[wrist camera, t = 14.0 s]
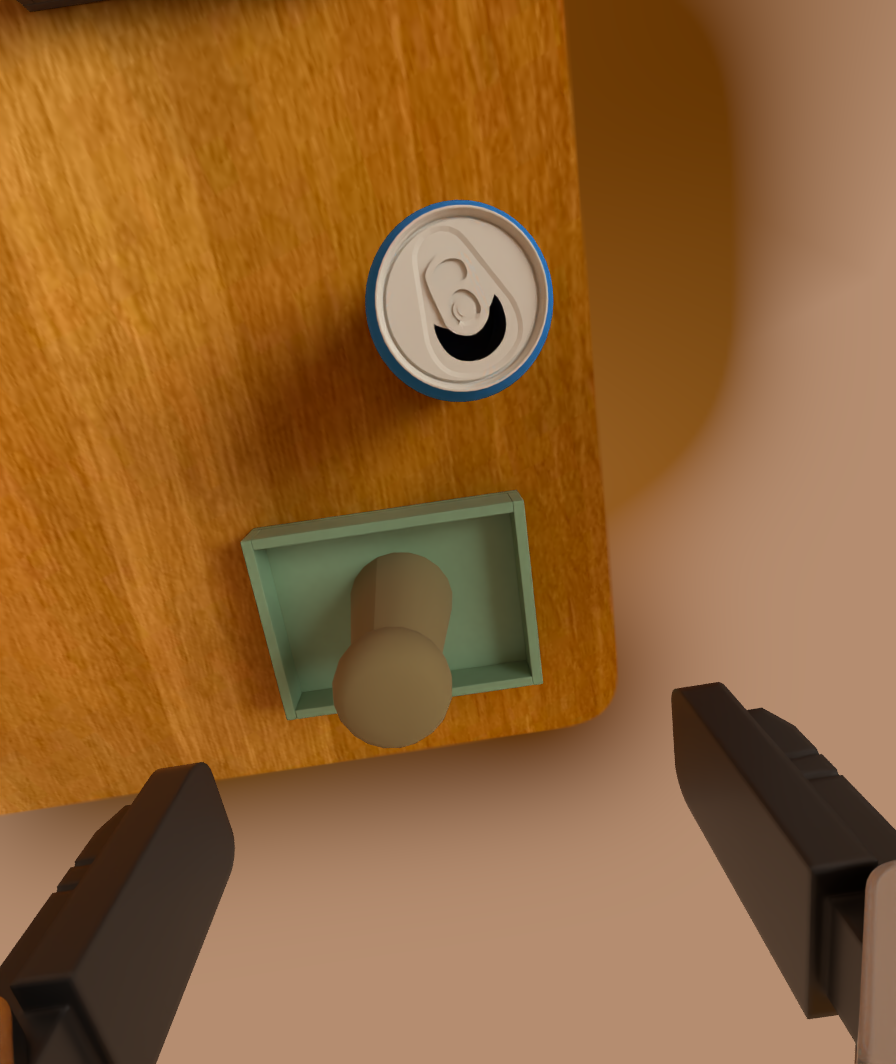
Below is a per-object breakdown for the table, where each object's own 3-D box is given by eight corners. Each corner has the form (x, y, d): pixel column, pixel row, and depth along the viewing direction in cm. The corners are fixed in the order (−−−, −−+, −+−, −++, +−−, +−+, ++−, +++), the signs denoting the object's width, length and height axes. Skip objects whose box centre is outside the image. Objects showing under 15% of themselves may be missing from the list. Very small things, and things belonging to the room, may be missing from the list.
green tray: (516, 489, 33) (523, 500, 30) (535, 662, 36) (543, 684, 34) (253, 528, 33) (239, 541, 30) (296, 696, 36) (286, 721, 34)
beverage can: (419, 406, 31) (416, 437, 20) (363, 290, 29) (324, 248, 18) (529, 353, 31) (590, 352, 19) (479, 230, 29) (514, 148, 17)
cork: (459, 638, 35) (473, 761, 24) (361, 653, 35) (332, 781, 24) (444, 544, 33) (453, 633, 22) (340, 560, 33) (300, 656, 23)
